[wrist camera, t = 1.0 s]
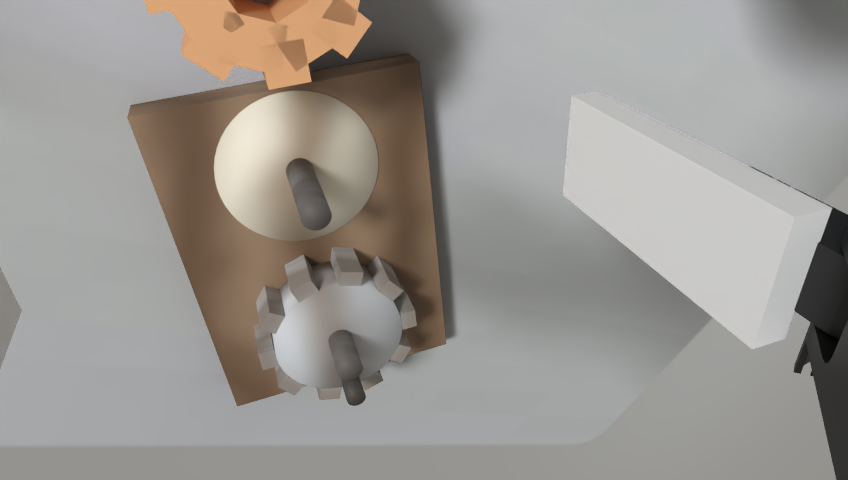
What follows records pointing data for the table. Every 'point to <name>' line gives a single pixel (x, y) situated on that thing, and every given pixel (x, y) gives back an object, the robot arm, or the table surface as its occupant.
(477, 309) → the table surface
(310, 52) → the loose gear
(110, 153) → the table surface
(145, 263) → the table surface
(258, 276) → the gear board
